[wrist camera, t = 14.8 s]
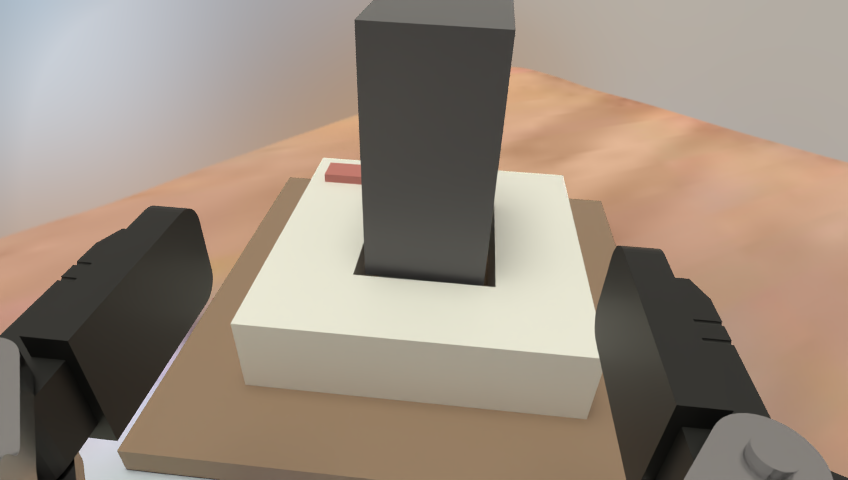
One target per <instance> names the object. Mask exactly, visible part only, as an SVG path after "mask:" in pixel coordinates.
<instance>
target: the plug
mask: <svg viewBox="0 0 848 480" xmlns="http://www.w3.org/2000/svg"><path fill="white" fill-rule="evenodd" d="M355 37H356V38H355V40H356V63H357V87H358V112H359V136H360V160H361V184H362V208H363V232H364V256H365V274H367V275H377V276H379V277H385V278H396V279H408V280H419V281H431V282H442V283H454V284H465V285H477V286H484V279H485V271H486V263H487V255H488V247H489V238H490V230H491V222H492V214H493V206H494V198H495V190H496V182H497V174H498V166H499V158H500V150H501V142H502V134H503V126H504V118H505V110H506V102H507V94H508V86H509V77H510V69H511V61H512V53H513V44H514V37H515V17H514V3H513V0H373V1H372V2H371V3H370V4H369V5H368V6H367V7H366V8H365V10H363V12H362V13H361V14H360V15H359V16H358V17H357V18H356V19H355Z"/></svg>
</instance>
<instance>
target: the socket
mask: <svg viewBox="0 0 848 480" xmlns="http://www.w3.org/2000/svg"><path fill="white" fill-rule="evenodd" d="M615 248H616V245H615V242H614V239H613V236H612V233H611V230H610V227H609V224H608V221H607V218H606V215H605V212H604V209H603V206H602V203H601V201H593V200H580V199H568V194H567V190H566V186H565V182H564V178H563V175H551V174H537V173H523V172H510V171H498V174H497V182H496V190H495V198H494V206H493V214H492V222H491V230H490V238H489V247H488V255H487V263H486V271H485V279H484V286H477V285H465V284H454V283H442V282H431V281H419V280H408V279H396V278H385V277H379V276H377V275H367V274H365V256H364V232H363V208H362V184H361V161H360V160H347V159H333V158H323V159H322V161H321V163H320V165H319V166H318V168H317V170H316V172H315V174H314V175H313V177H312V179H304V178H291V177H290V178H289V180H288V181H287V183H286V184H285V186H284V188H283V189H282V191H281V192H280V194H279V196H278V197H277V199H276V200H275V202H274V203H273V205H272V207H271V208H270V210H269V211H268V213H267V215H266V216H265V218H264V219H263V221H262V222H261V224H260V226H259V227H258V229H257V230H256V232H255V234H254V235H253V237H252V238H251V240H250V241H249V243H248V245H247V246H246V248H245V249H244V251H243V253H242V254H241V256H240V257H239V259H238V260H237V262H236V264H235V265H234V267H233V268H232V270H231V272H230V273H229V275H228V276H227V278H226V279H225V281H224V283H223V284H222V286H221V287H220V289H219V291H218V292H217V294H216V295H215V297H214V298H213V300H212V302H211V303H210V305H209V306H208V308H207V310H206V311H205V313H204V314H203V316H202V317H201V319H200V321H199V322H198V324H197V325H196V327H195V329H194V330H193V332H192V333H191V335H190V336H189V338H188V340H187V341H186V343H185V344H184V346H183V348H182V349H181V351H180V352H179V354H178V355H177V357H176V359H175V360H174V362H173V363H172V365H171V367H170V368H169V370H168V371H167V373H166V374H165V376H164V378H163V379H162V381H161V382H160V384H159V386H158V387H157V389H156V390H155V392H154V393H153V395H152V397H151V398H150V400H149V401H148V403H147V405H146V406H145V408H144V409H143V411H142V412H141V414H140V416H139V417H138V419H137V420H136V422H135V424H134V425H133V427H132V428H131V430H130V431H129V433H128V435H127V436H126V438H125V439H124V441H123V443H122V444H121V446H120V447H119V449H118V450H117V452H118V453H119V455H120V457H121V459H122V461H123V463H124V465H125V467H126V469H131V470H139V471H148V472H157V473H166V474H175V475H184V476H193V477H201V478H210V479H219V480H626V477H625V472H624V468H623V463H622V458H621V454H620V449H619V445H618V440H617V436H616V431H615V427H614V422H613V418H612V413H611V408H610V404H609V399H608V395H607V390H606V386H605V381H604V377H603V372H602V368H601V363H600V358H599V354H598V349H597V345H596V340H595V314H596V309H597V305H598V302H599V298H600V295H601V291H602V288H603V284H604V281H605V278H606V274H607V271H608V267H609V264H610V260H611V257H612V254H613V252H614V250H615Z"/></svg>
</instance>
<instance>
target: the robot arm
mask: <svg viewBox="0 0 848 480" xmlns="http://www.w3.org/2000/svg"><path fill="white" fill-rule="evenodd" d="M61 277H62V279H61V281H59V280H57V281H56V282H55V283H54V284H53V285H52V286H51V287H50V288H49V289H48V290H47V291H46V292H45V293H44V294H43V295H42V296H41V297H40V298H38V299H37V300H36V301H35V302H34V303H33V304H32V305H31V306H30V307H29V308H28V309H27V310H26V311H25V312H24V313H23V314H22V315H21V316H20V317H19V318H18V319H17V320H16V321H15V322H14V323H12V324H11V325H10V326H9V327H8V328H7V329H6V330H5V331H4V332H3V333H2V334H1V335H0V480H85V475H84V465H83V460H82V458H81V456H80V454H79V450H80V449H81V448H82V446H83V445H84V443H85V442H86V440H87V439H88V438H97V439H106V440H115V441H118V439H119V438H120V436H121V434H122V433H123V431H124V430H125V428H126V427H127V425H128V424H129V422H130V421H131V419H132V417H133V416H134V414H135V413H136V411H137V410H138V408H139V407H140V405H141V404H142V402H143V400H144V399H145V397H146V396H147V394H148V393H149V391H150V390H151V388H152V387H153V385H154V383H155V382H156V380H157V379H158V377H159V376H160V374H161V373H162V371H163V370H164V368H165V366H166V365H167V363H168V362H169V360H170V359H171V357H172V356H173V354H174V353H175V351H176V349H177V348H178V346H179V345H180V343H181V342H182V340H183V339H184V337H185V336H186V334H187V332H188V331H189V329H190V328H191V326H192V325H193V323H194V322H195V320H196V319H197V317H198V315H199V314H200V312H201V311H202V309H203V308H204V306H205V305H206V303H207V301H208V299H209V297H210V294H211V290H212V283H213V275H212V269H211V265H210V261H209V257H208V253H207V249H206V245H205V241H204V237H203V233H202V229H201V225H200V221H199V218H198V216H197V214H196V212H195V211H194V210H192V209H187V208H175V207H163V206H150V207H148V208H147V209H146V210H145V211H144V212H143V213H142V214H141V215H140V216H139V217H138V218H137V219H136V220H135V221H134V222H133V223H132V224H131V225H130V226H129V227H128V228H127V229H121V230H119V231H117V232H116V233H114V234H112V235H110V236H108V237H106V238H105V239H103V240H101V241H99V242H97V243H96V244H95V245H94V246H93V247H92V248H91V249H89V250H88V251H87V252H86V253H85V254H84V255H83V256H82V257H81V258H80V259H79V260H78V261H77V265H73V266H72V267H71V268H70V269H69V270H68V271H67V272H66V273H64V274H63V275H62V276H61ZM595 340H596V345H597V349H598V354H599V358H600V363H601V368H602V372H603V377H604V381H605V386H606V390H607V395H608V399H609V404H610V408H611V413H612V418H613V422H614V427H615V431H616V436H617V440H618V445H619V449H620V454H621V458H622V463H623V468H624V472H625V477H626V480H848V478H847V477H844V476H841V475H839V474H837V473H834V472H832V471H830V469H829V467H828V465H827V464H826V462H825V460H824V459H823V458H822V456H821V455H820V454H819V452H818V451H817V450H816V449H815V448H814V447H813V446H812V445H811V444H810V443H809V442H808V441H807V440H806V439H805V438H803V437H802V436H801V435H799V434H798V433H797V432H795V431H794V430H792V429H790V428H789V427H787V426H786V425H784V424H781V423H779V422H777V421H775V420H773V419H771V418H770V416H769V414H768V412H767V410H766V408H765V406H764V404H763V402H762V400H761V398H760V396H759V394H758V392H757V390H756V388H755V386H754V384H753V382H752V380H751V378H750V376H749V374H748V372H747V370H746V368H745V366H744V364H743V362H742V360H741V358H740V356H739V354H738V352H737V350H736V348H735V347H734V345H731V339H730V337H729V335H728V333H727V331H726V329H725V327H724V326H722V321H721V319H720V317H719V315H718V313H717V311H716V309H715V307H714V305H713V303H712V301H711V299H710V298H709V297H708V296H707V295H706V294H704V293H703V292H702V291H701V290H700V289H699V288H698V287H697V286H696V285H695V284H694V283H693V282H692V281H691V280H690V279H684V278H675V277H674V275H673V272H672V270H671V268H670V266H669V263H668V261H667V259H666V257H665V254H664V253H663V251H662V250H660V249H654V248H642V247H630V246H617V247H616V248H615V250H614V252H613V254H612V257H611V260H610V264H609V267H608V271H607V274H606V278H605V281H604V284H603V288H602V291H601V295H600V298H599V302H598V305H597V309H596V314H595Z"/></svg>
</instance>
